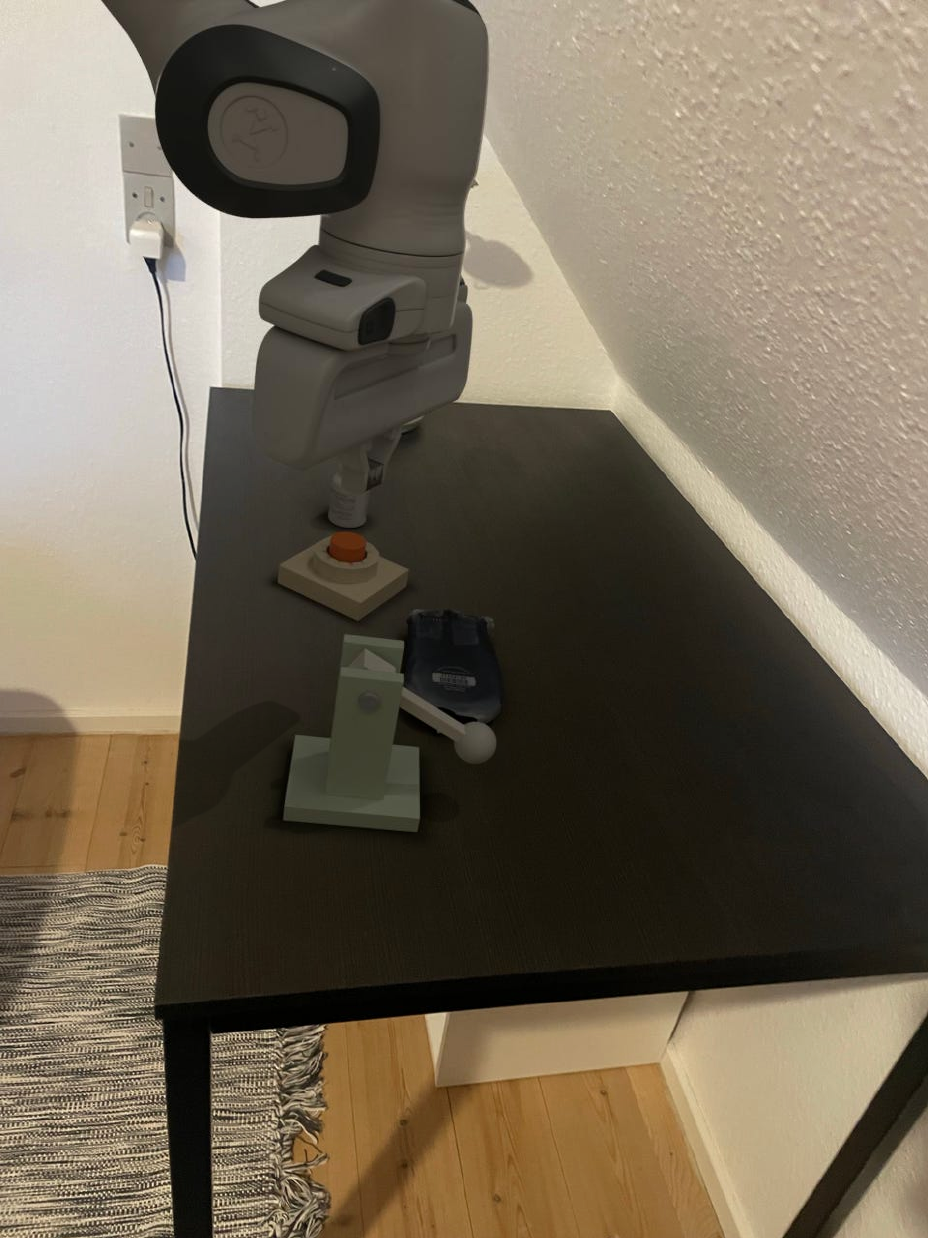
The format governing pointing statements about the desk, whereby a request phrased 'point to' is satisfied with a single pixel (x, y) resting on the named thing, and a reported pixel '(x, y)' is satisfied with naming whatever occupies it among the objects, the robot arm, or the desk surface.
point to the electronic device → (454, 664)
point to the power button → (347, 547)
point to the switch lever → (438, 717)
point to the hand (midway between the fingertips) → (362, 486)
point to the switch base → (358, 752)
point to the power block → (343, 579)
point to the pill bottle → (346, 504)
